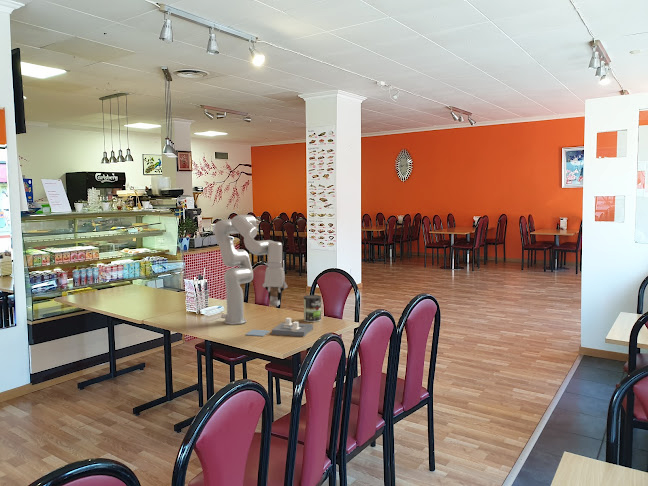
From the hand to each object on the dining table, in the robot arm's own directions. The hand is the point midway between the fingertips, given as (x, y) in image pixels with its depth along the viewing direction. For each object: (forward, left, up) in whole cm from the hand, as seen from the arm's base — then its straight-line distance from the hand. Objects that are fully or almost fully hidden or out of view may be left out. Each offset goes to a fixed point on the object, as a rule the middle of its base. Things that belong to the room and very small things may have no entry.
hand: (275, 299), depth 270 cm
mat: (-9, -2, -19) cm, 21 cm away
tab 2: (+11, +2, -16) cm, 19 cm away
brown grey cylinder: (0, 0, -3) cm, 3 cm away
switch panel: (+8, +6, -19) cm, 21 cm away
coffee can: (+11, +33, -19) cm, 39 cm away
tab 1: (+4, +9, -16) cm, 19 cm away
